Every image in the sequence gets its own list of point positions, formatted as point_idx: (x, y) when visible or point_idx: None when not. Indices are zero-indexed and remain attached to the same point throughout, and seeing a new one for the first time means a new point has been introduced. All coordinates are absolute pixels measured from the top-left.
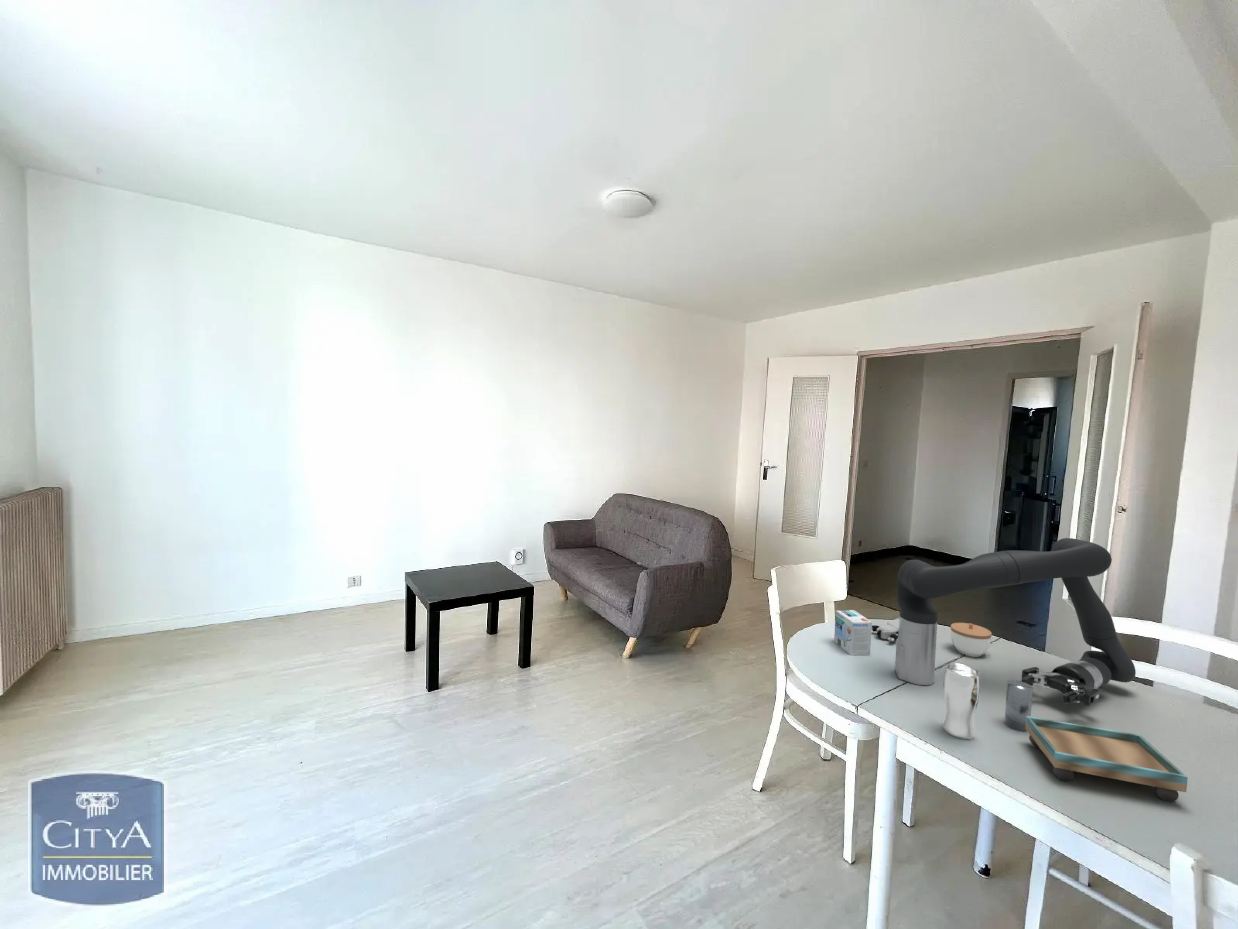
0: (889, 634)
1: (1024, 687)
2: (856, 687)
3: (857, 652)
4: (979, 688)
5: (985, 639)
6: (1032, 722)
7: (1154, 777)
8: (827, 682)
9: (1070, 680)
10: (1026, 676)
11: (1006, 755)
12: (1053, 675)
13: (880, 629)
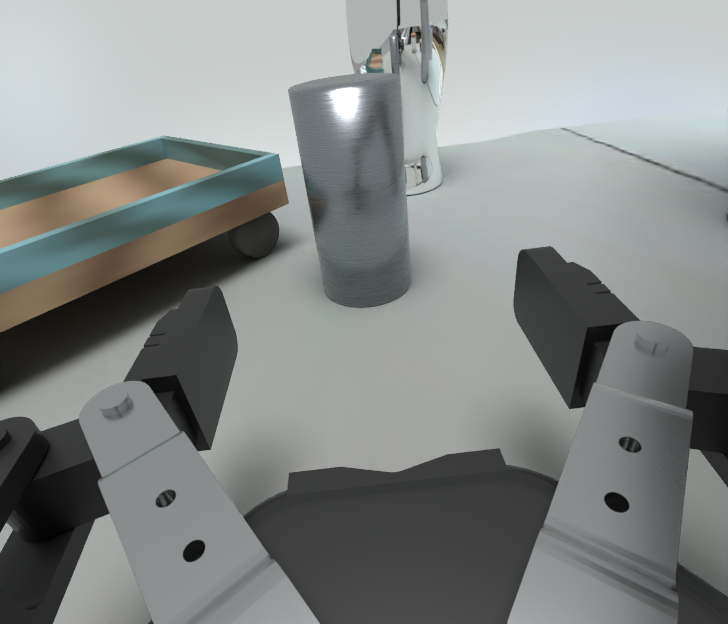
0: None
1: (318, 84)
2: (662, 135)
3: None
4: (349, 20)
5: None
6: (248, 150)
7: None
8: (683, 117)
9: (225, 603)
10: (636, 320)
11: (291, 200)
12: (547, 525)
13: None
